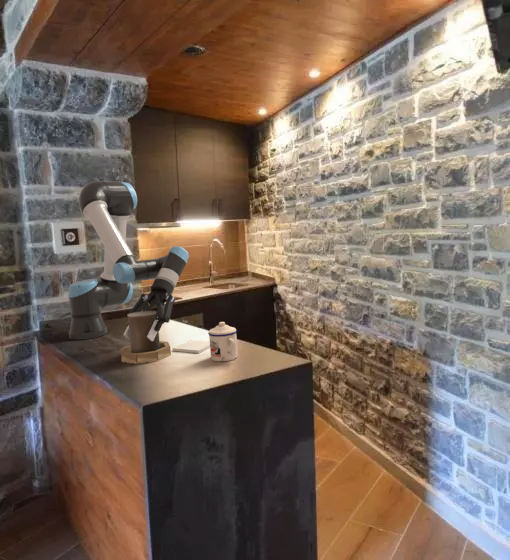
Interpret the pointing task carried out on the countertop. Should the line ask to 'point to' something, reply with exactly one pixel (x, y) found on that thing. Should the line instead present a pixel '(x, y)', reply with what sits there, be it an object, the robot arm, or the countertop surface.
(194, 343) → the coaster
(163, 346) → the holder ring
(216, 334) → the teacup with lid
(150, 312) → the pillar candle
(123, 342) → the countertop surface
